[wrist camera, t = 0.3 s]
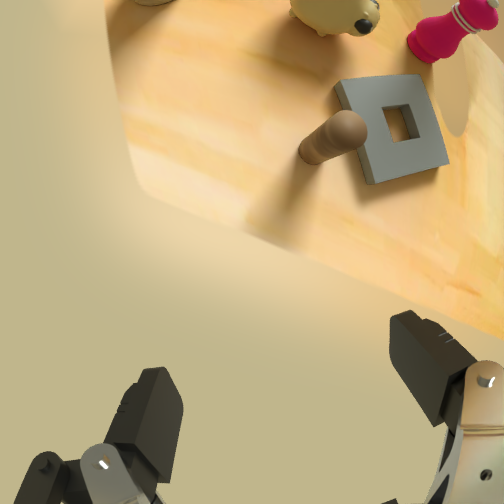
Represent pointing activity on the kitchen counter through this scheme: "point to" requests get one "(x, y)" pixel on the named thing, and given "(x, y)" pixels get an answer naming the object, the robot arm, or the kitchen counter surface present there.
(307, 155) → the pin
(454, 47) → the pepper mill
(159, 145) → the kitchen counter surface
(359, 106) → the socket
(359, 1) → the beige animal figure
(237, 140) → the kitchen counter surface
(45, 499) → the robot arm
